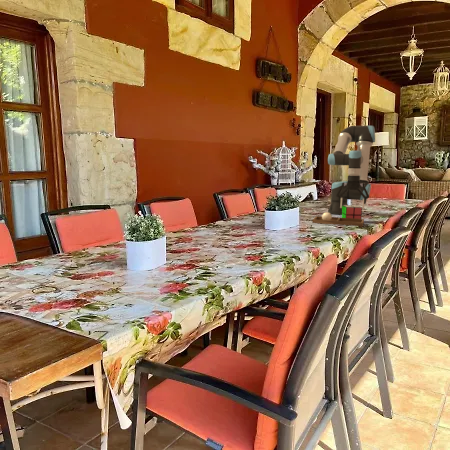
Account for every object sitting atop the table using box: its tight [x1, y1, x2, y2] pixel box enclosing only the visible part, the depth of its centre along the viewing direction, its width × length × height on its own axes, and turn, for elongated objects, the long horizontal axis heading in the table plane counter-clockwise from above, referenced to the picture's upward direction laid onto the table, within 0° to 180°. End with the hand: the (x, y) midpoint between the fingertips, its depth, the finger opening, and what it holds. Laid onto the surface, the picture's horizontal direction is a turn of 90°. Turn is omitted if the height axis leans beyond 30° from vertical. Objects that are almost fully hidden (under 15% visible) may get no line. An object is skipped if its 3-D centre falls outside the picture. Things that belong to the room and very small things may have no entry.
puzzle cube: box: [341, 204, 363, 219], centre depth 275 cm, size 10×10×10 cm
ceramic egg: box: [321, 211, 333, 220], centre depth 266 cm, size 6×6×6 cm
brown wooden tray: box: [312, 215, 365, 229], centre depth 264 cm, size 15×29×3 cm, turn 68°
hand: (351, 208), depth 273 cm, fingers open, 13 cm apart
